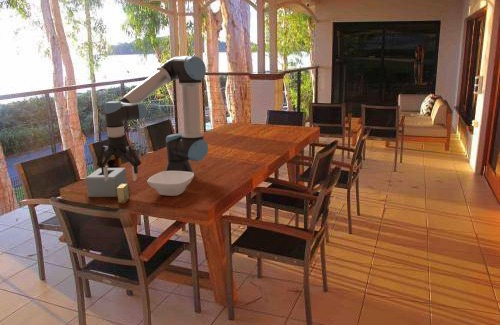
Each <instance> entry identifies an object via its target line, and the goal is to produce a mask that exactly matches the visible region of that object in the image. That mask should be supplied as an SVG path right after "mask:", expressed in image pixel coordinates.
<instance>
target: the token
mask: <svg viewBox="0 0 500 325" xmlns="http://www.w3.org/2000/svg"><path fill="white" fill-rule="evenodd" d="M128 186H129V185H128V183H127V184H121V185H120V186H118V187H117V194H118V195H117V202H118V204H125V203H126V202H127V201H129V200H130V194H129V188H128Z"/></svg>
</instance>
